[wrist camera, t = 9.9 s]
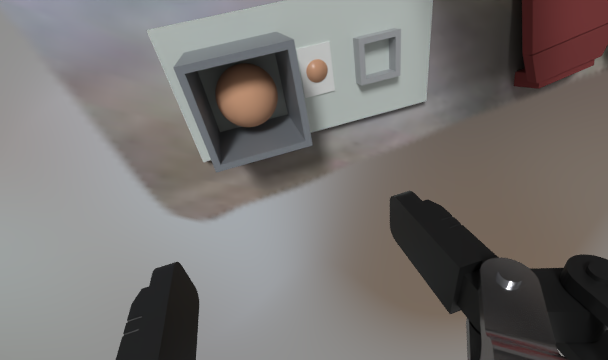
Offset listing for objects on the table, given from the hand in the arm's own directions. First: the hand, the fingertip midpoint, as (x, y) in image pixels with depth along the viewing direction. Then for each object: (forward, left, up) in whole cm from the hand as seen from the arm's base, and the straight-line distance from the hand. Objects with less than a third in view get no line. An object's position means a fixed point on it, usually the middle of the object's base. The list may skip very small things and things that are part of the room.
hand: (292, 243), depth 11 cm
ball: (0, 0, -21) cm, 21 cm away
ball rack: (-5, +5, -25) cm, 26 cm away
